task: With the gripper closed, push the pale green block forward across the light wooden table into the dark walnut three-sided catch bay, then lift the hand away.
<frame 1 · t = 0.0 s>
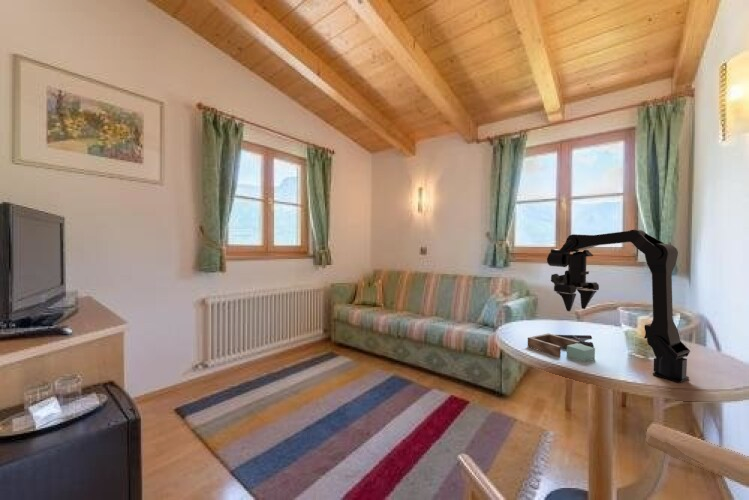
hand: (576, 310, 123), 15 cm above the table, tool pointing down, fingers open, 9 cm apart
pale green block: (580, 358, 114), on the table
catch bay: (553, 349, 123), on the table
bracket: (580, 344, 131), on the table
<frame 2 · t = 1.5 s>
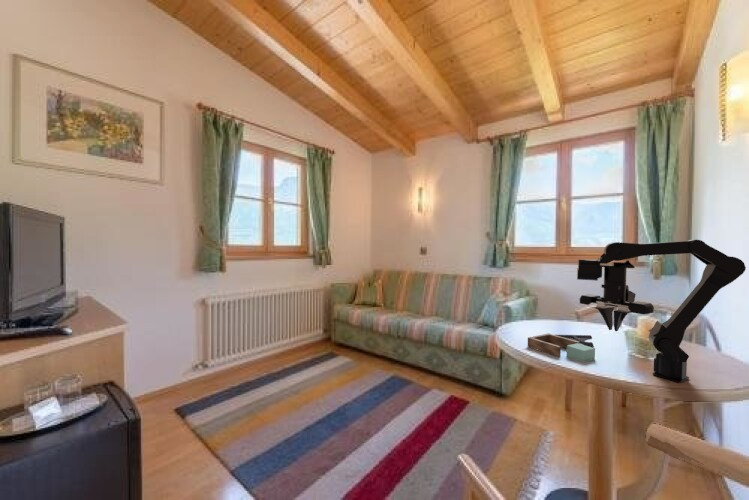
hand: (613, 330, 105), 12 cm above the table, tool pointing down, fingers closed
nothing on the table moved.
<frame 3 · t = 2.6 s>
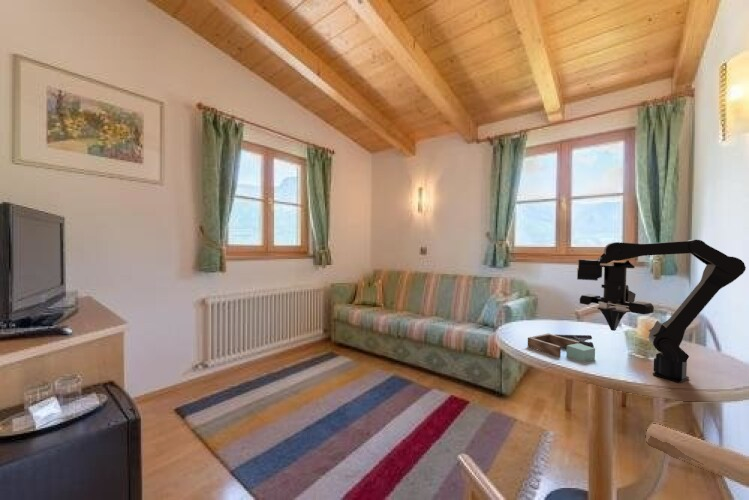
hand: (613, 330, 105), 12 cm above the table, tool pointing down, fingers closed
nothing on the table moved.
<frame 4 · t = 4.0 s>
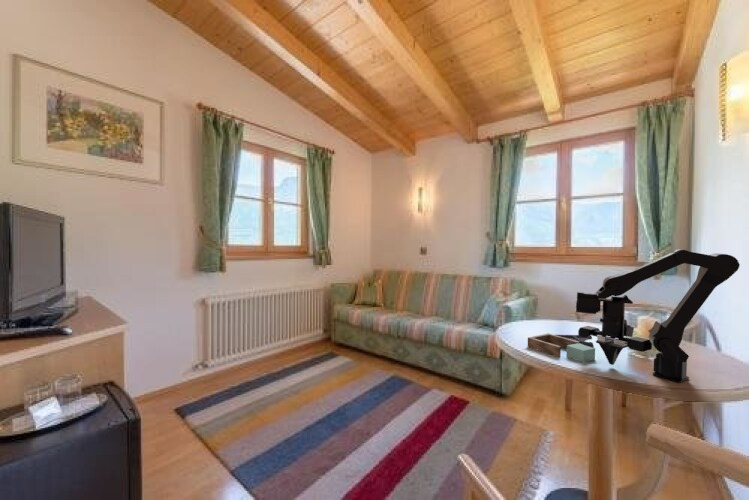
hand: (611, 364, 106), 1 cm above the table, tool pointing down, fingers closed
nothing on the table moved.
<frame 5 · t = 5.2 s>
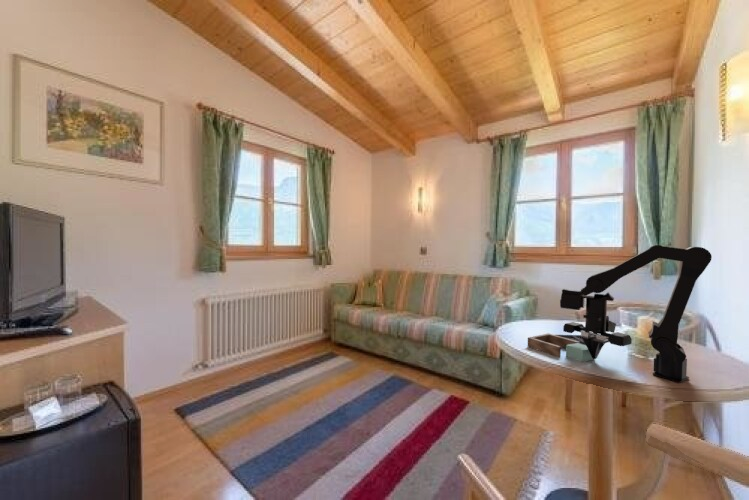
hand: (594, 358, 110), 1 cm above the table, tool pointing down, fingers closed
pale green block: (579, 357, 115), on the table, touching gripper
everything else where it was.
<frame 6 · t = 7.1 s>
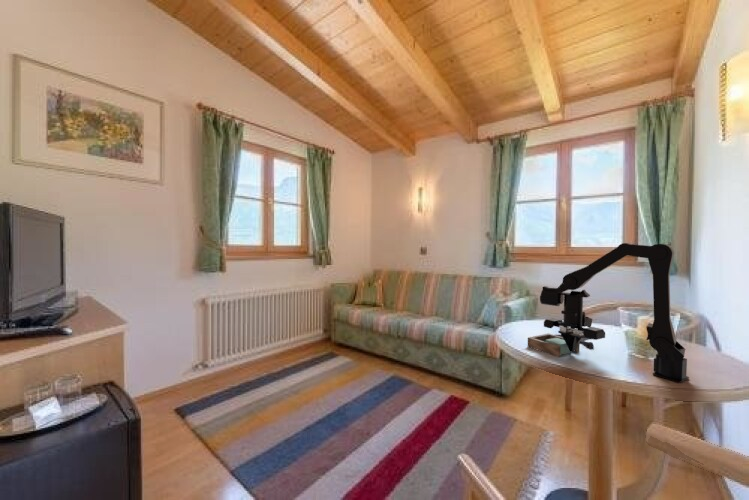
hand: (572, 352, 117), 1 cm above the table, tool pointing down, fingers closed
pale green block: (558, 351, 121), on the table
everything else where it was.
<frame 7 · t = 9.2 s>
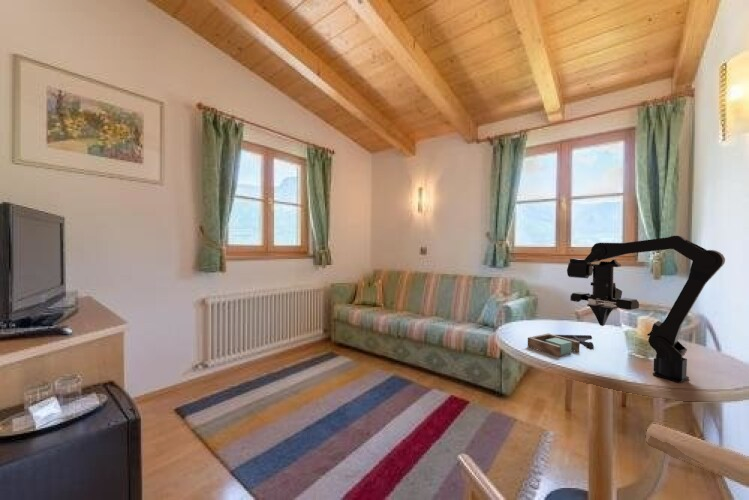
hand: (602, 325, 112), 12 cm above the table, tool pointing down, fingers closed
nothing on the table moved.
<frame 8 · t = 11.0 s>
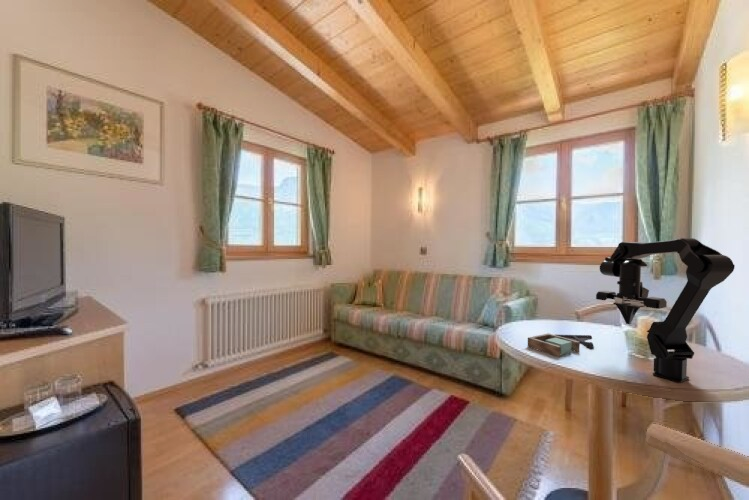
hand: (628, 324, 113), 12 cm above the table, tool pointing down, fingers closed
nothing on the table moved.
at the end: pale green block inside the target area (2.0 cm from its centre), on the table; pale green block moved 7.8 cm from its start; pale green block tilted 0° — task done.
